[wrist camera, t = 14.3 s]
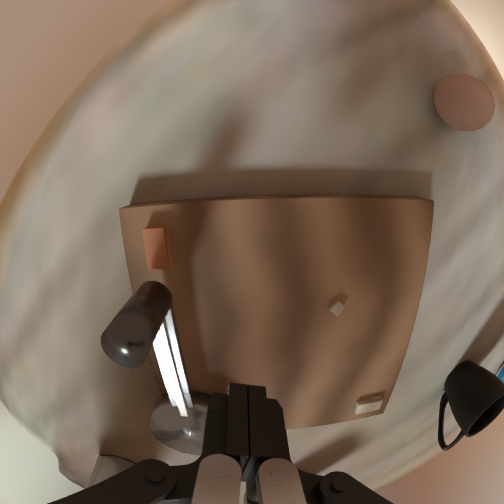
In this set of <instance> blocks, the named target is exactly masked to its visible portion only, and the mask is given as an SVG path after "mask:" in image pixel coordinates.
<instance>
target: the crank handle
mask: <svg viewBox="0 0 504 504" xmlns="http://www.w3.org/2000/svg"><path fill="white" fill-rule="evenodd" d="M152 344H153V346H154V349H155V353H156V356H157V360H158V363H159V367H160V370H161V373H162V376H163V380H164V383H165V386H166V389H167V392H168V393H167V394H164V395H162V396H161V397H160V398H159V399H158V400H157V401H156V403H155V406H154V409H153V412H152V415H151V418H150V421H149V428H150V430H151V432H152V434H153V435H154V436H155V437H156V438H157V439H158V440H159V441H160V442H162V443H163V444H165V445H166V446H168V447H170V448H172V449H175V450H177V451H180V452H183V453H187V454H193V455H201V454H202V445H203V436H204V428H205V420H206V414H207V407H208V401H209V399H210V398H211V397H212V396H210V395H207V394H203V393H199V392H193V391H192V389H191V386H190V382H189V378H188V373H187V369H186V365H185V361H184V356H183V352H182V347H181V343H180V338H179V333H178V328H177V323H176V318H175V312H174V307H173V300H172V295H171V292H170V291H169V289H168V288H167V287H166V286H165V285H164V284H162V283H160V282H158V281H146V282H144V283H143V284H142V285H141V286H140V287H139V288H138V289H137V291H136V292H135V293H134V294H133V295H132V297H131V298H130V299H129V300H128V302H127V303H126V304H125V305H124V306H123V308H122V309H121V310H120V311H119V313H118V314H117V315H116V317H115V318H114V319H113V320H112V322H111V323H110V324H109V326H108V327H107V328H106V329H105V331H104V332H103V333H102V336H101V345H102V348H103V350H104V352H105V353H106V355H107V356H108V357H109V358H110V359H111V360H112V361H114V362H115V363H117V364H119V365H121V366H124V367H128V368H135V367H139V366H140V365H142V364H143V363H144V361H145V359H146V357H147V354H148V352H149V350H150V348H151V346H152Z"/></svg>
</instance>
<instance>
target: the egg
mask: <svg viewBox="0 0 504 504" xmlns="http://www.w3.org/2000/svg"><path fill="white" fill-rule="evenodd" d="M433 97H434V105H435V108H436V110H437V113H438V115H439V116H440V117H441V119H442V120H443V121H444V122H445V123H447V124H448V125H449V126H451V127H453V128H454V129H457V130H460V131H474V130H477V129H480V128H482V127H483V126H484V125H486V124H487V123H488V122H489V121H490V119H491V118H492V116H493V114H494V107H495V104H494V99H493V96H492V94H491V92H490V90H489V89H488V88H487V86H486V85H485V84H484V83H483V82H481V81H480V80H478V79H476V78H474V77H472V76H469V75H466V74H453V75H449V76H446V77H444V78H442V79H441V80H440V81H439V82H438V84H437V86H436V88H435V91H434V95H433Z"/></svg>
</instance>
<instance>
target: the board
mask: <svg viewBox="0 0 504 504" xmlns="http://www.w3.org/2000/svg"><path fill="white" fill-rule="evenodd" d="M433 207H434V201H432V200H428V199H425V198H418V197H399V196H373V195H271V196H243V197H223V198H206V199H191V200H178V201H166V202H155V203H144V204H134V205H128V206H125V207H123V208H120V209H119V213H120V221H121V229H122V236H123V242H124V249H125V255H126V260H127V266H128V271H129V277H130V282H131V286H132V291H133V294H134V293H135V292H136V291H137V289H138V288H139V287H140V286H141V285H142V284H143V283H144V282H146V281H158V282H160V283H162V284H164V285H165V286H166V287H167V288H168V289H169V291H170V292H171V295H172V300H173V307H174V312H175V318H176V323H177V328H178V333H179V338H180V343H181V347H182V352H183V356H184V361H185V365H186V369H187V373H188V378H189V382H190V386H191V389H192V391H193V392H199V393H203V394H207V395H210V396H212V395H213V394H214V393H215V392H217V393H224V394H226V392H227V388H228V383H229V382H233V383H241V384H249V385H259V386H265V387H266V394H267V398H270V399H277V401H278V402H279V404H280V405H281V407H282V408H283V414H284V421H285V428H286V429H296V428H305V427H313V426H321V425H327V424H334V423H340V422H345V421H350V420H355V419H360V418H365V417H369V416H374V415H378V414H382V413H384V410H385V408H386V406H387V403H388V401H389V398H390V396H391V393H392V391H393V388H394V386H395V383H396V380H397V378H398V375H399V372H400V369H401V366H402V363H403V360H404V357H405V354H406V351H407V348H408V344H409V341H410V338H411V334H412V331H413V327H414V323H415V319H416V315H417V311H418V307H419V303H420V298H421V293H422V289H423V284H424V278H425V273H426V267H427V261H428V254H429V247H430V239H431V230H432V220H433ZM148 354H149V357H150V361H151V364H152V367H153V370H154V373H155V376H156V379H157V382H158V385H159V388H160V391H161V394H162V395H164V394H167V393H168V392H167V389H166V386H165V383H164V380H163V376H162V373H161V370H160V367H159V363H158V360H157V356H156V353H155V349H154V346H153V344H152V346H151V348H150V350H149V352H148Z"/></svg>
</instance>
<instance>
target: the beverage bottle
mask: <svg viewBox="0 0 504 504" xmlns="http://www.w3.org/2000/svg"><path fill="white" fill-rule="evenodd" d="M495 376H497V377H498V378H499V379H500V380H501V381H502V382H503V383H504V363H503V364H502V366H501V367H500V368H499V370H498V372H497V373H496V375H495Z"/></svg>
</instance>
